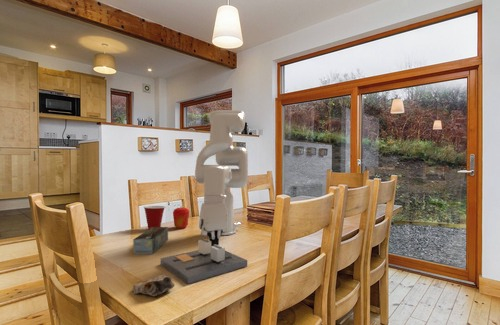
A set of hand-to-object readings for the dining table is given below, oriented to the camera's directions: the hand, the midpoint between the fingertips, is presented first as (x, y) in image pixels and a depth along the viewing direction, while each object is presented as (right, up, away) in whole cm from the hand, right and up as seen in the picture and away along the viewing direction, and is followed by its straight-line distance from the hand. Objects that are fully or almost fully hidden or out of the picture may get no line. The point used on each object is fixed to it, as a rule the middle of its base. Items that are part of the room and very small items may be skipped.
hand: (214, 248), depth 103 cm
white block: (+2, 0, -10) cm, 10 cm away
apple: (-23, -3, +45) cm, 50 cm away
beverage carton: (-27, -3, +12) cm, 30 cm away
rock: (-13, -4, -28) cm, 31 cm away
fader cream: (-3, -1, -3) cm, 4 cm away
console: (-2, -3, -9) cm, 9 cm away
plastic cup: (-36, -3, +41) cm, 55 cm away
